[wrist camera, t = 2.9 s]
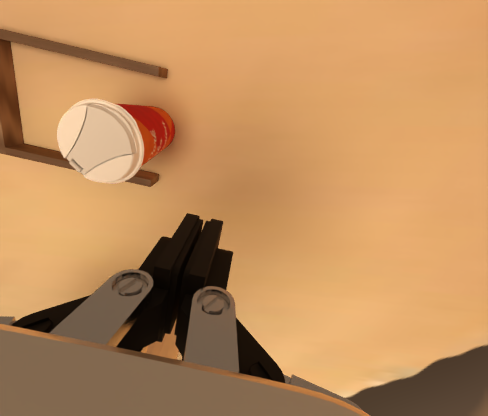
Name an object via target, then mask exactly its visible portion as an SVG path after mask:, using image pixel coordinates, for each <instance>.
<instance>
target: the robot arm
mask: <svg viewBox="0 0 488 416" xmlns="http://www.w3.org/2000/svg"><path fill="white" fill-rule="evenodd" d="M202 225H203V220H201V219H199V216H197V215H193V214H188V213H187V214H186V216H185V218H184V219H183V221H182V222H181V224H180V226H179V227H178V229H177V230H176V232H175V233H174V235H173V237H172V238H168V237H161V238H160V240H159V241H158V243H157V244H156V245H155V247H154V248H153V250H152V251H151V253H150V254H149V255H148V257H147V258H146V260H145V261H144V262H143V264H142V265H141V267H140V268H139V270H134V269H130V270H124V271H121V272H119V273H116V274H115V275H113V276H112V277H111V278H110V279H108V280H107V281H106V282H105V283H104V284H103V285H102V286H101V287H100V288H98V289H97V290H96V291H95V292H94V293H93V294H92V295H90V296H87V297H83V298H80V299H77V300H74V301H71V302H68V303H64V304H61V305H58V306H55V307H52V308H49V309H45V310H42V311H39V312H36V313H33V314H30V315H28V316H25V317H23V318H21V319H19V320H18V321H15V317H0V416H370V415H368V414H366V413H365V412H363V411H362V409H361V408H360V407H359V406H358V405H356V404H355V403H353V402H351V401H350V400H348V399H346V398H343V397H341V396H339V395H337V394H335V393H332V392H330V391H328V390H326V389H323V388H321V387H319V386H317V385H315V384H312V383H310V382H308V381H306V380H304V379H301V378H299V377H297V376H295V375H292V376H291V378H290V377H288V376H286V375H283V373H282V371H281V369H280V368H279V366H278V365H277V364H276V363H275V361H274V360H273V359H272V358H271V357H270V356H269V355H268V353H267V352H266V351H265V350H264V349H263V348H262V347H261V346H260V344H259V343H258V342H257V341H256V340H255V339H254V338H253V336H252V335H251V334H250V333H249V332H248V331H247V330H246V328H245V327H244V326H243V325H242V324H241V323H240V322H239V320H238V319H237V318H236V313H235V302H234V298H233V297H232V295H231V294H230V293H229V292H228V291H226V288H227V282H228V277H229V271H230V266H231V261H232V255H233V252H231V251H227V250H222V249H218V245H219V240H220V235H221V230H222V225H223V221H220V220H215V219H211V221H206V223H205V225H204V227H203V230H202ZM201 231H202V232H201ZM178 352H180V353H181V355H182V361H181V360H176V358H177V355H178Z"/></svg>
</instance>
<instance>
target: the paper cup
mask: <svg viewBox="0 0 488 416" xmlns="http://www.w3.org/2000/svg"><path fill="white" fill-rule="evenodd" d="M174 134H175V128H174V123H173V121H172V119H171V117H170V116H169V115H168V114H167V113H166V112H165V111H163V110H162V109H160V108H157V107H151V106H141V105H126V104H114V103H111V102H108V101H106V100H101V99H86V100H82V101H80V102H78V103H76V104H74V105H73V106H72V107H71V108H70V109H69V110H68V111H67V112H66V113H65V114H64V115H63V117H62V118H61V120H60V122H59V125H58V129H57V140H58V145H59V148H60V151H61V153H62V155H63V157H64V158H67V160H68V161H69V164H70V165H71V166H72V167H74V168H75V169H76V170H77V171H78V172H81V173H82V174H83V175H85V176H84V177H85V178H87V179H89V180H92V181H95V182H100V183H111V184H114V183H121V182H124V181H126V180H128V179H130V178H131V177H133V176H134V175H135V174H136V173H137V172H138V170H139V169H140V167H141V166H142V165H143V164H145V163H146V162H147V161H149V160H150V159H151V158H153V157H154V156H155V155H157V154H158V153H159V152H161V151H162V150H163V149H164V148H166V147H167V146H168V145H169V144H170V143H171V142H172V140H173V138H174Z"/></svg>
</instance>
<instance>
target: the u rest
mask: <svg viewBox="0 0 488 416" xmlns="http://www.w3.org/2000/svg"><path fill="white" fill-rule="evenodd" d="M10 41H12V42H16V43H20V44H24V45H28V46H33V47H37V48H41V49H45V50H49V51H54V52H58V53H62V54H66V55H70V56H75V57H79V58H83V59H87V60H91V61H96V62H100V63H104V64H108V65H112V66H117V67H121V68H125V69H129V70H134V71H138V72H142V73H146V74H150V75H155V76H159V77H164V78H167V71H168V69H164V68H161V67H157V66H153V65H149V64H145V63H141V62H136V61H132V60H128V59H124V58H120V57H116V56H111V55H107V54H103V53H99V52H95V51H90V50H86V49H82V48H78V47H74V46H69V45H65V44H61V43H57V42H53V41H49V40H44V39H40V38H36V37H32V36H28V35H23V34H19V33H15V32H11V31H7V30H3V29H0V153H1V154H6V155H10V156H15V157H19V158H24V159H28V160H33V161H37V162H42V163H46V164H50V165H55V166H59V167H64V168H68V169H73V170H76V169H75V168H74V167H72V166H71V165H70V164H69V161H68V160H67V158H64V157H63V155H62V153H61V152H59V151H54V150H50V149H45V148H41V147H37V146H32V145H28V144H24V141H23V134H22V127H21V119H20V112H19V104H18V97H17V89H16V82H15V75H14V67H13V60H12V52H11V45H10ZM158 179H159V174H156V173H152V172H147V171H143V170H138V172H137V173H136V174H135V175H134V176H133V177H131V178H130V179H128V180H126V182H131V183H135V184H140V185H144V186H148V187H151V186H152V185H153V184H155V183H156V182H157V181H158Z"/></svg>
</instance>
